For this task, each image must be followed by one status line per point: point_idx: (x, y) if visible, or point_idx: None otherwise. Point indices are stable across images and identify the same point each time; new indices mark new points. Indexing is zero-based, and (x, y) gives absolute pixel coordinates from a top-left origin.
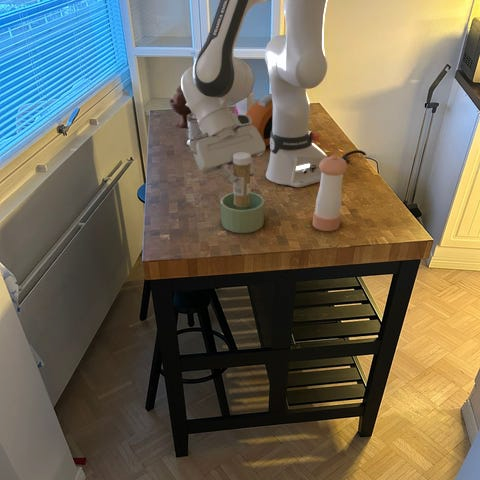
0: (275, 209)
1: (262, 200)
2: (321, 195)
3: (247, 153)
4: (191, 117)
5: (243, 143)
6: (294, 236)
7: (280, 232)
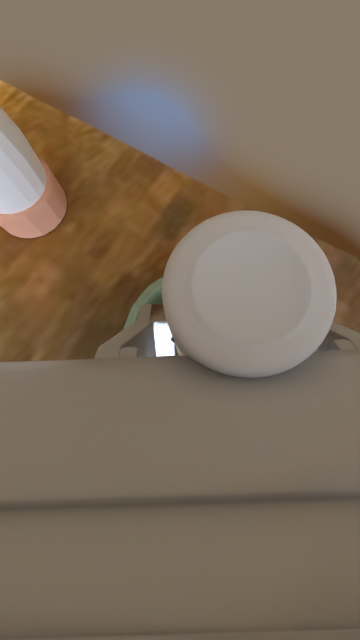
0: (67, 355)
1: (144, 299)
2: (2, 127)
3: (182, 282)
4: None
5: (87, 465)
6: (137, 212)
7: (151, 247)
